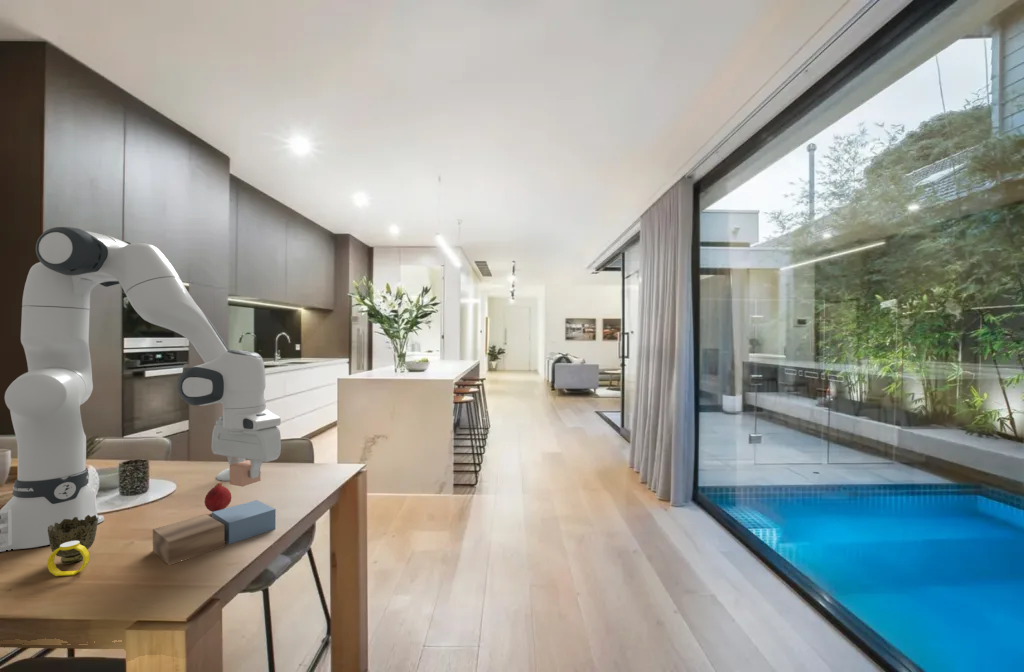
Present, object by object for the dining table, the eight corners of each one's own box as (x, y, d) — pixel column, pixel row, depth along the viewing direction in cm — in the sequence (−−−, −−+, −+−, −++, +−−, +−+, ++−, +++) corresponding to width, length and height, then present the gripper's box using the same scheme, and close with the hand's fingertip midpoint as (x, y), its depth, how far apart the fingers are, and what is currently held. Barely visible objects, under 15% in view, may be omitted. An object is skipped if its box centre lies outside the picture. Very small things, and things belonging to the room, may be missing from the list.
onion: (217, 518, 112) (218, 487, 112) (198, 516, 113) (199, 485, 113) (236, 510, 118) (236, 480, 118) (218, 508, 119) (218, 478, 119)
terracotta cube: (229, 484, 104) (229, 465, 104) (247, 478, 108) (247, 460, 108) (242, 486, 102) (242, 467, 102) (260, 480, 106) (260, 462, 106)
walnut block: (152, 552, 95) (153, 529, 95) (206, 535, 103) (206, 514, 103) (169, 566, 89) (169, 541, 89) (224, 547, 97) (224, 525, 97)
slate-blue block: (211, 533, 104) (211, 512, 104) (256, 519, 112) (256, 499, 112) (229, 545, 98) (229, 522, 98) (275, 529, 106) (275, 509, 106)
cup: (38, 573, 86) (38, 532, 86) (58, 556, 92) (59, 518, 93) (88, 565, 89) (88, 525, 89) (104, 549, 95) (104, 512, 96)
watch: (43, 580, 83) (43, 548, 83) (54, 573, 86) (54, 542, 86) (82, 576, 85) (82, 544, 85) (92, 568, 88) (92, 538, 88)
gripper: (203, 417, 107) (203, 474, 107) (261, 423, 98) (261, 485, 98) (229, 413, 112) (229, 467, 112) (285, 418, 104) (286, 477, 104)
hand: (245, 475), depth 105 cm, fingers closed on terracotta cube, 4 cm apart
